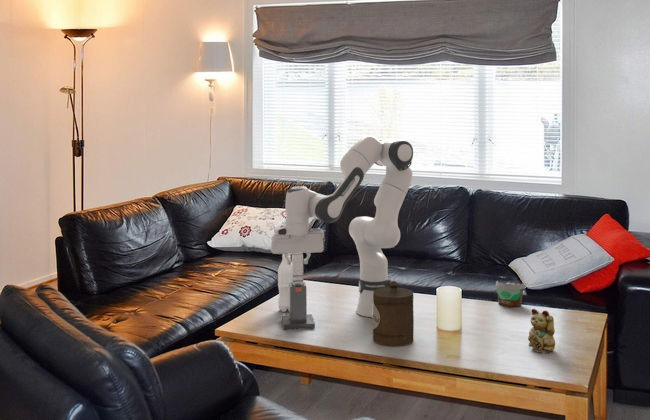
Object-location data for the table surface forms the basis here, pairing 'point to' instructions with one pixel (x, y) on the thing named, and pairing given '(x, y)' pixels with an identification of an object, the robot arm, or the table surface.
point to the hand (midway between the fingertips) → (297, 264)
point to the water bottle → (284, 283)
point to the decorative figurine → (542, 332)
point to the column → (297, 269)
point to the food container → (510, 294)
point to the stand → (297, 310)
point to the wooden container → (393, 315)
